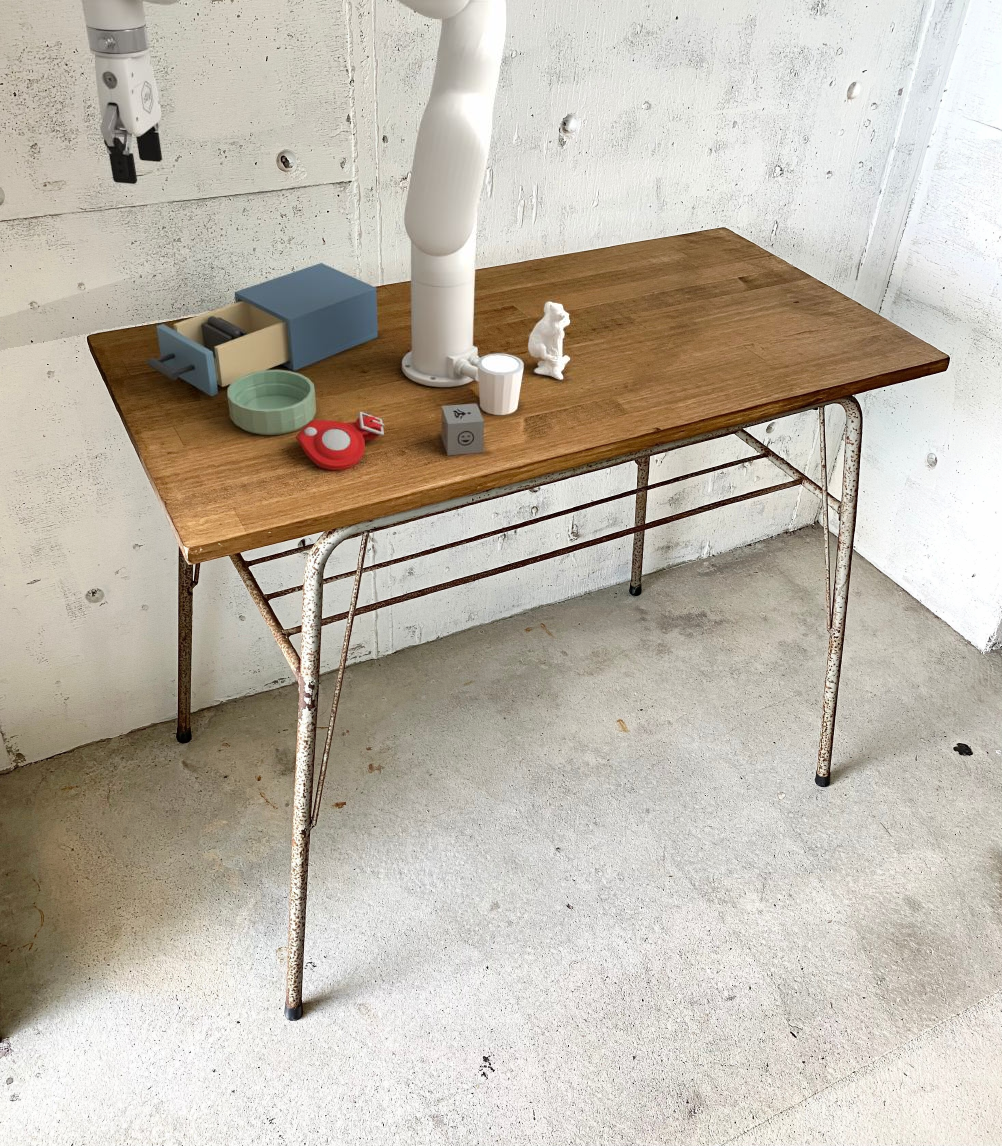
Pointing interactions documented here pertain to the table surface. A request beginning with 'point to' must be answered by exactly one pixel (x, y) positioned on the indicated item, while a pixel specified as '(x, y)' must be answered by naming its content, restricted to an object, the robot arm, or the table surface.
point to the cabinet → (317, 311)
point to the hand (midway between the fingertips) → (138, 171)
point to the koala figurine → (550, 341)
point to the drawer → (221, 348)
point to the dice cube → (462, 429)
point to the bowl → (271, 402)
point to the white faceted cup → (499, 383)
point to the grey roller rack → (219, 332)
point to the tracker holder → (338, 440)
